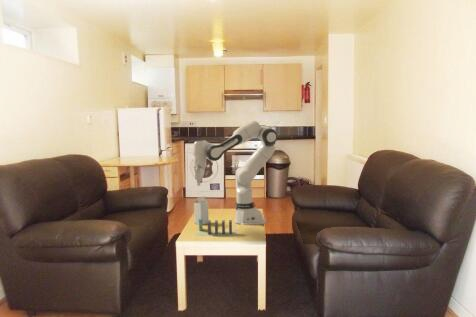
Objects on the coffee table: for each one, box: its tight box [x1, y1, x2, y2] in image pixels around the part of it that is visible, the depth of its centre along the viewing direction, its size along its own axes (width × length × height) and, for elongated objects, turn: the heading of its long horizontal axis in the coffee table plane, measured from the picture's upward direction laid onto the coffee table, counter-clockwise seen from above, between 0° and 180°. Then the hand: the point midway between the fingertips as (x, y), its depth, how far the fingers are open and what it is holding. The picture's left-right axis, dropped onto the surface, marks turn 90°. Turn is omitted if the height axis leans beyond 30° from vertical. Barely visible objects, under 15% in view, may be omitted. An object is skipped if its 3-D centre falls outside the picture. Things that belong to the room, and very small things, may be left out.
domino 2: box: [207, 219, 212, 236], centre depth 219 cm, size 2×4×8 cm, turn 179°
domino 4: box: [221, 219, 226, 236], centre depth 219 cm, size 2×4×8 cm, turn 179°
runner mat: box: [195, 231, 238, 236], centre depth 219 cm, size 26×7×1 cm, turn 89°
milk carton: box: [193, 195, 209, 225], centre depth 242 cm, size 7×7×19 cm
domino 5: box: [228, 219, 233, 234], centre depth 219 cm, size 2×4×8 cm, turn 179°
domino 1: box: [198, 218, 203, 232], centre depth 227 cm, size 2×4×8 cm, turn 179°
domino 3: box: [214, 219, 219, 236], centre depth 219 cm, size 2×4×8 cm, turn 179°
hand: (199, 184), depth 232 cm, fingers open, 8 cm apart
